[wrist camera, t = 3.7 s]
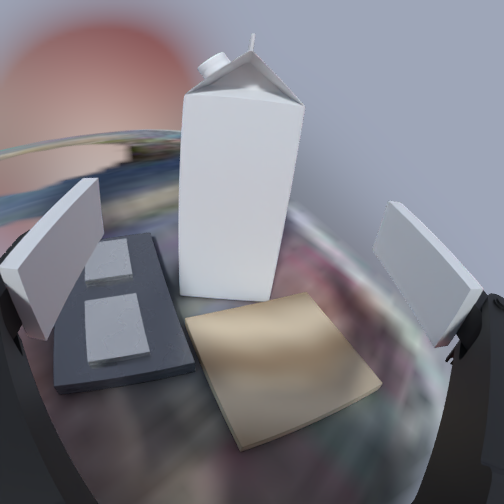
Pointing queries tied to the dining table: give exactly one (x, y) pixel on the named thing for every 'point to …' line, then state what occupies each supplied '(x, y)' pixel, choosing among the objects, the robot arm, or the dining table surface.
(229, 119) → the milk carton
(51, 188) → the dining table surface
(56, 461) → the robot arm
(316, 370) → the coaster
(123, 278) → the label panel
